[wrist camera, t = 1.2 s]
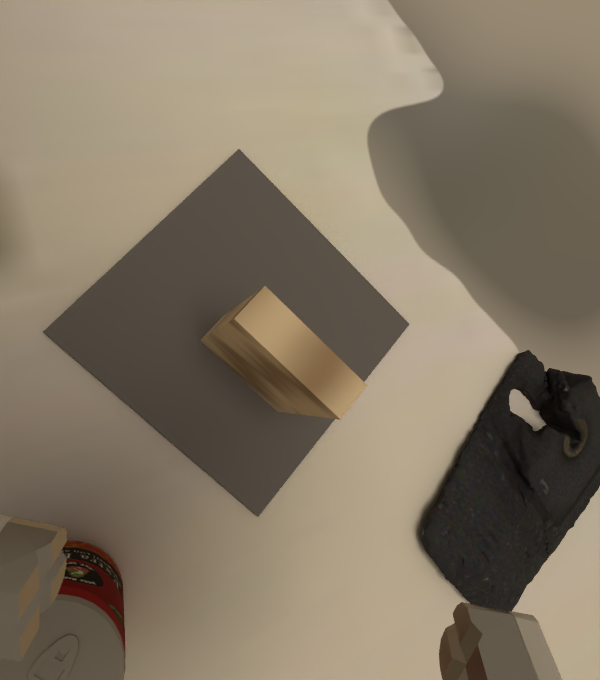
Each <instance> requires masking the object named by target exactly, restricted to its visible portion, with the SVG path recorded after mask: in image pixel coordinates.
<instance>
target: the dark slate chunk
mask: <svg viewBox="0 0 600 680" xmlns="http://www.w3.org/2000/svg"><path fill="white" fill-rule="evenodd" d="M512 389H517V390H519V391H521V393H522V394H523V395H524V396H526V398H527V399H528V400H529V401H530V404H531V406H532V408H533V409H534V410H538V411H540V412H539V414H540V416H541V418H542V419H543V420H544V421H545V422H546V424H547V425H545V426H543V427H542V429H540V430H539V431H533V429H532V426H531V425H530V424H528V423H526V422H525V421H524V419H522V418H521V417H519V416H517V415H516V414H514V413H512V412H511V411H510V406H509V395H510V391H511V390H512ZM599 486H600V397H599V396H598V393H597V390H596V386H595V385H594V384H593V382H592V378H591V377H590V376H587V375H580V374H573V373H569V372H565V371H560V370H555V369H551V368H549V369H548V370H547V371H544V365H543V363H542V362H540V361H538V359H537V358H536V356H535V355H533V354H532V353H531V352H530V351H529V350H527V351H526V352H522V353H520V354H519V355H518V359H517V360H515V362H514V364H513V366H512V367H511V368H510V371H509V374H508V376H507V377H506V378H505V379H504V380H503V382H502V384H501V385H500V387H499V388H498V390H497V391H496V393H495V394H494V395H493V397H492V398H491V400H490V401H489V403H488V408H487V409H485V410H484V411H483V414H482V416H481V419H480V420H479V421H478V423H477V425H476V428H475V431H474V432H473V434H472V438H471V440H470V442H469V443H468V445H467V446H466V448H465V449H464V451H463V452H462V454H461V455H460V458H459V462H458V463H457V465H456V468H455V469H454V470H453V471H452V473H451V476H450V478H449V480H448V481H447V484H446V486H445V488H444V489H443V490H442V492H441V495H440V498H439V501H438V503H437V504H436V505H435V507H434V508H433V510H432V511H431V513H430V514H429V516H428V518H427V521H426V523H425V526H424V529H423V531H422V542H423V544H424V546H425V548H426V551H427V552H428V554H429V555H430V557H431V558H432V559H433V560H434V561H435V562H436V563H437V565H438V566H439V567H440V569H441V570H442V571H443V573H444V574H445V577H446V579H447V580H449V581H450V582H451V583H452V584H453V585H455V586H456V588H459V590H460V591H461V593H462V594H463V596H464V597H465V599H466V600H468V601H469V602H470V603H471V604H474V605H480V606H486V607H491V608H497V609H503V610H506V611H512V610H513V608H514V607H515V606H516V604H517V603H518V601H519V599H520V597H521V595H522V593H523V591H524V590H525V588H526V586H527V584H529V583H530V582H531V581H532V580H533V578H534V576H535V575H536V574H537V573H538V572H539V570H540V568H541V566H542V565H543V564H544V562H545V561H546V560H547V559H548V557H549V556H550V555H551V554H552V553H553V552H554V551H555V550H556V548H557V547H558V545H559V544H560V542H561V541H562V539H563V538H564V536H565V535H566V533H567V531H568V530H569V529H570V528H572V527H573V526H574V523H575V521H576V520H577V519H578V517H579V516H580V514H581V513H582V512H583V511H584V510H585V508H586V506H587V505H588V503H589V501H590V498H591V497H592V496H593V495H594V494H595V492H596V491H597V490H598V488H599Z"/></svg>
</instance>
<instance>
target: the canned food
mask: <svg viewBox="0 0 600 680" xmlns="http://www.w3.org/2000/svg"><path fill="white" fill-rule="evenodd" d="M61 551H62V552H63V553H64V555H65V556H66V557H67V558H66V570H65V575H64V579H63V581H62V584H61V587H60V590H59V592H58V594H57V596H56V598H55V600H54V602H53V604H52V606H51V607H50V608H48V609H47V610H45V611H44V612H42V613H41V614H39V629H38V631H37V633H36V635H35V637H34V638H33V640H32V642H31V644H30V646H29V647H28V649H27V651H26V653H25V655H24V656H23V658H22V660H21V661H15V660H8V659H2V658H0V680H123V678H124V673H125V627H124V601H123V584H122V579H121V575H120V572H119V570H118V568H117V566H116V564H115V563H114V562H113V560H112V559H111V558H110V557H109V556H108V555H107V554H106V553H105V552H103V551H102V550H101V549H99V548H97V547H95V546H92V545H90V544H87V543H82V542H66V543H65V545H64V547H63V549H62V550H61Z"/></svg>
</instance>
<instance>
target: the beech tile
mask: <svg viewBox="0 0 600 680" xmlns="http://www.w3.org/2000/svg"><path fill="white" fill-rule="evenodd" d="M200 341H201V342H202V343H203V344H204V345H205V346H206V347H207V348H208V349H210V350H211V351H212V352H213V353H214V354H215V355H216V356H217V357H218V358H219V359H220V360H222V361H223V362H224V363H225V364H226V365H227V366H228V367H229V368H230V369H231V370H232V371H234V372H235V373H236V374H237V375H238V376H239V377H240V378H241V379H242V380H243V381H244V382H245V383H247V384H248V385H249V386H250V387H251V388H252V389H253V390H254V391H255V392H256V393H257V394H259V395H260V396H261V397H262V398H263V399H264V400H265V401H266V402H267V403H268V404H269V405H270V406H272V407H273V408H274V409H275V410H276V411H277V412H283V413H291V414H299V415H308V416H316V417H324V418H332V419H340V420H341V419H342V417H343V416H344V415H345V413H346V412H347V411H348V410H349V408H350V407H351V406H352V404H353V403H354V402H355V401H356V399H357V398H358V397H359V396H360V394H361V393H362V392H363V390H364V389H365V388H366V387H367V384H366V383H364V382H363V381H362V380H361V379H360V378H359V377H358V376H357V375H356V374H355V373H354V372H353V371H352V370H351V369H350V368H349V367H348V366H347V365H346V364H345V363H344V362H343V361H342V360H341V359H340V358H339V357H338V356H337V355H336V354H335V353H334V352H333V351H332V350H331V349H330V348H329V347H328V346H327V345H326V344H324V343H323V342H322V341H321V340H320V339H319V338H318V337H317V336H316V335H315V334H314V333H313V332H312V331H311V330H310V329H309V328H308V327H307V326H306V325H305V324H304V323H303V322H302V321H301V320H300V319H299V318H298V317H297V316H296V315H295V314H294V313H293V312H292V311H291V310H290V309H289V308H288V307H287V306H286V305H284V304H283V303H282V302H281V301H280V300H279V299H278V298H277V297H276V296H275V295H274V294H273V293H272V292H271V291H270V290H269V289H268V288H267V287H266V286H264V287H262V288H261V289H260V290H258V291H257V292H255V293H254V294H253V295H251V296H250V297H249V298H247V299H246V300H244V301H243V302H242V303H240V304H239V305H238V306H236V307H235V308H233V309H232V310H231V311H229V312H228V313H227V314H225V315H224V316H222V317H221V319H220V320H219V321H218V322H217V323H216V324H215V325H214V326H213V327H212V328H211V329H210V330H209V331H208V332H207V333H206V335H205V336H204V337H203V338H202V339H201V340H200Z"/></svg>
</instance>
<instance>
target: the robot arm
mask: <svg viewBox="0 0 600 680" xmlns="http://www.w3.org/2000/svg"><path fill="white" fill-rule="evenodd" d="M66 542H67V529H65V528H63V527H58V526H54V525H49V524H45V523H40V522H35V521H31V520H26V519H22V518H17V517H11V516H6V515H2V514H0V658H2V659H8V660H15V661H21V660H22V658H23V656H24V655H25V653H26V651H27V649H28V647H29V646H30V644H31V642H32V640H33V638H34V637H35V635H36V633H37V631H38V629H39V614H41V613H42V612H44V611H45V610H47V609H48V608H50V607H51V606H52V604H53V602H54V600H55V598H56V596H57V594H58V592H59V590H60V587H61V584H62V581H63V579H64V575H65V570H66V558H67V557H66V556H65V555H64V553H63V552H62V551H61V550H62V549H63V547H64V545H65V543H66ZM453 617H454V621H455V623H454V624H452V625H450V626H449V627H447V628H446V629H445V631H444V633H443V636H442V638H441V642H440V650H439V662H440V670H441V675H442V679H443V680H562V678H561V676H560V673H559V671H558V668H557V666H556V664H555V661H554V659H553V656H552V654H551V652H550V649H549V647H548V644H547V642H546V640H545V637H544V635H543V632H542V630H541V628H540V625H539V623H538V621H537V619H536V618H535V617H534V616H533V615H528V614H522V613H517V612H512V611H506V610H503V609H497V608H491V607H486V606H480V605H474V604H469V603H463V602H461V603H460V604H458V605H457V606H456V608H455V610H454V612H453Z"/></svg>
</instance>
